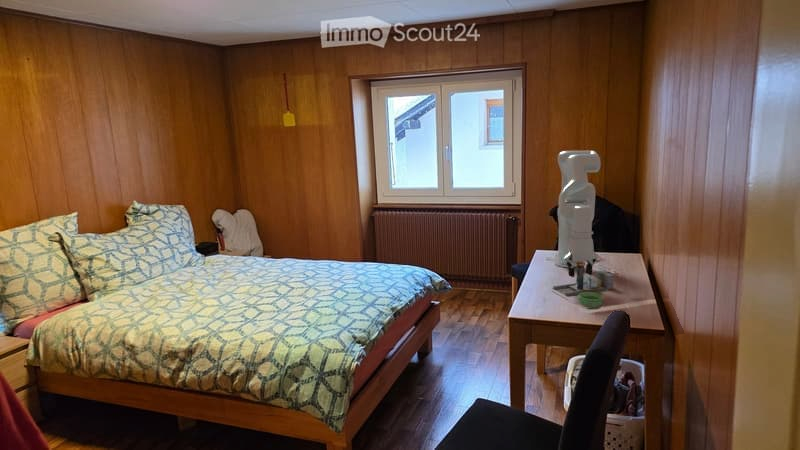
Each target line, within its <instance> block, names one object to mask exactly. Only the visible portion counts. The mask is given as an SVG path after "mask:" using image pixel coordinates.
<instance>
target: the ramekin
mask: <svg viewBox="0 0 800 450" xmlns="http://www.w3.org/2000/svg"><path fill="white" fill-rule="evenodd" d="M603 298H604V297H603V295H602V294H599V293H592V292H583V293H580V294H579V295H578V301H579V303H580V304H581V305H583V306H587V307H588V308H586V310H591V311H592V310H599V309H601V308H602V306H601V305H602V303H603ZM583 306H581V308H583V309H584V307H583Z"/></svg>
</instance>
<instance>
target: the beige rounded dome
mask: <svg viewBox="0 0 800 450" xmlns="http://www.w3.org/2000/svg"><path fill="white" fill-rule="evenodd" d="M597 288H601V280H600V279H597Z"/></svg>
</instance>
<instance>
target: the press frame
mask: <svg viewBox="0 0 800 450" xmlns="http://www.w3.org/2000/svg"><path fill="white" fill-rule="evenodd" d="M594 277H596V278H597V279H600V280H601V288H594V289H586V290H579V291H575V290H573V289H571V288H569V286H572V285H576V282H575V283H574V282H573V283H567V284H560V285H553V287H551V289H552V290H551V292H552V293H553V294H556V295H558V296H559V297H561V298H563V299H564V300H565V299H566V300H567V301H569V299H568V298H566V297H575V296H579V294H580V293H583V292H592V293H597V294H599V293H604V292H611V291H618V289H616V288H614V283H615V282H614V278H615V276H614V274H612V273H610V272H607V271H605V270H602V269H601V270H595V276H594ZM553 290H555V291H557V292H558V293H560V294H562V295H564V296H566V297H564V296H562V295H560V294H558V293H557V292H555V291H553Z"/></svg>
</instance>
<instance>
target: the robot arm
mask: <svg viewBox="0 0 800 450" xmlns="http://www.w3.org/2000/svg"><path fill="white" fill-rule="evenodd" d="M557 163H558V166H559V170H560V172H561V191H560V193H559V196H558V208H557V221H558V243H557V244H558V249H557V254H555V258H556V259H557V260H555V261H554V264H555V266H558V267H561V268H562V267H563V268H568V271H567V272H568V276H569V277H571V278H575V276H576V275H575V274H576V273H575V270H576V269H575V268H577V265H576V262H585V274H588V275H591V276H593V266H594V265H595V263H596V261H597V259H598V258H599V256H600V255H599V254H598V253H596V252H595V250H594V240H593V237H592V235H594V231H593V230H592V227H593V220H594V217H595V206H596V188H595V185H594V184H593V183H591V182H589V179H588V173H597V172H599V171H600V169H601V158H600V155H599V154H598V153H597V152H596V151H595V150H588V149H587V150H564V151H560V152H559V153H558V155H557Z"/></svg>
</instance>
